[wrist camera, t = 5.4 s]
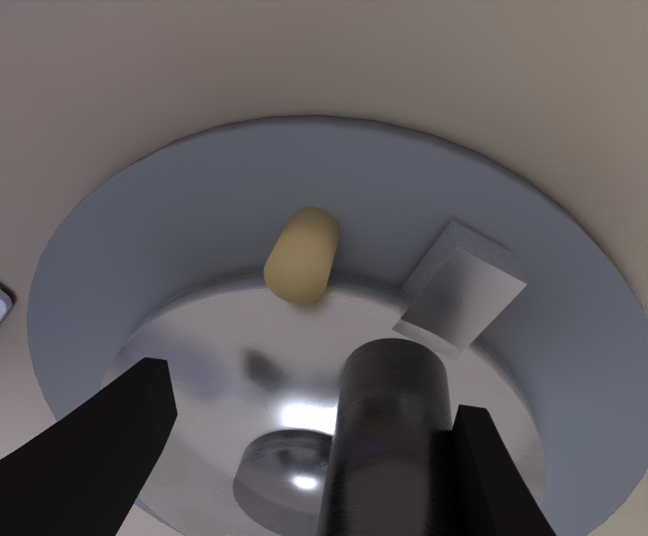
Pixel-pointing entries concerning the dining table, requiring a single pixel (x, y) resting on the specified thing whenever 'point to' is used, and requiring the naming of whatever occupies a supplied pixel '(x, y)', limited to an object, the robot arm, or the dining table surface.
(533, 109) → the dining table surface
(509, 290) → the light grey rounded piece
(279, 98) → the dining table surface
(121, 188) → the grey round plate
